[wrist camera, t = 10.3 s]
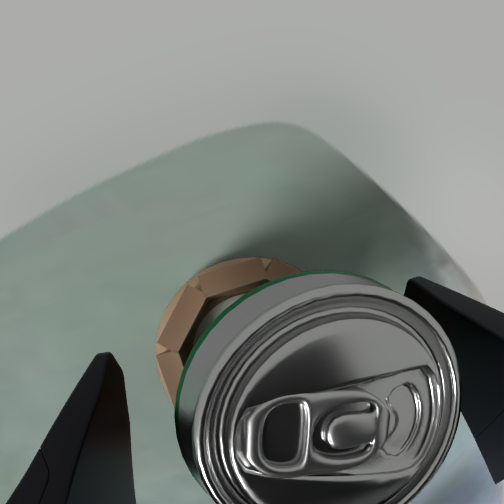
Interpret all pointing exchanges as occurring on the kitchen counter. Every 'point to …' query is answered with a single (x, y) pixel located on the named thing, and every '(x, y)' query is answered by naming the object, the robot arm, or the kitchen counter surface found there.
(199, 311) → the holder
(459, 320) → the robot arm
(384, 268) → the kitchen counter surface
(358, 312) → the soda can
